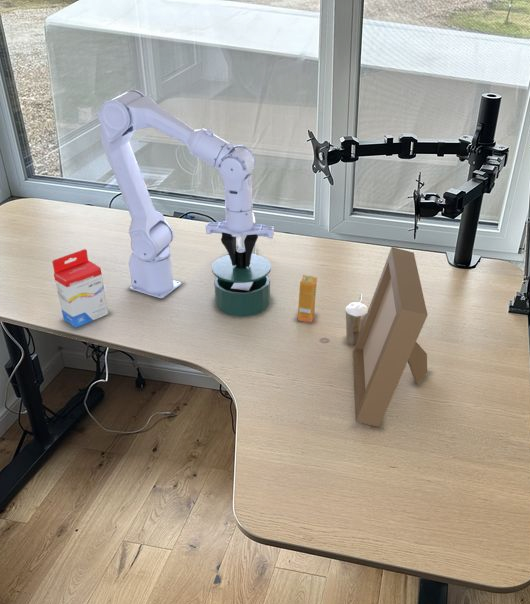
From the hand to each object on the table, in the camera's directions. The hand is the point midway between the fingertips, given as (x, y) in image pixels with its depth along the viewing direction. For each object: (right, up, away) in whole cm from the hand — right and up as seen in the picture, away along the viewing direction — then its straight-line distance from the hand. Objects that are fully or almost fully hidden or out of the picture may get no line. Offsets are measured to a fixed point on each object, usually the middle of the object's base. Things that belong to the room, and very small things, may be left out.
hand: (241, 264), depth 146 cm
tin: (0, -8, +6) cm, 10 cm away
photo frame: (+31, -27, -19) cm, 45 cm away
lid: (0, -1, 0) cm, 1 cm away
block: (0, -8, +6) cm, 10 cm away
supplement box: (+15, -12, +1) cm, 19 cm away
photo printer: (-1, +6, +26) cm, 27 cm away
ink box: (-34, -12, -1) cm, 36 cm away
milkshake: (+25, -17, -6) cm, 31 cm away
